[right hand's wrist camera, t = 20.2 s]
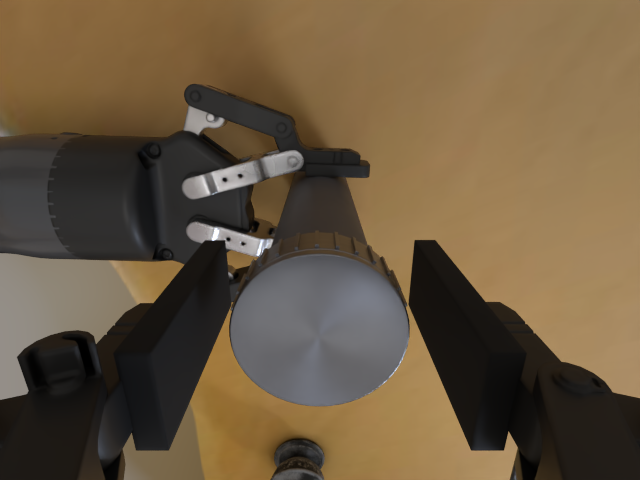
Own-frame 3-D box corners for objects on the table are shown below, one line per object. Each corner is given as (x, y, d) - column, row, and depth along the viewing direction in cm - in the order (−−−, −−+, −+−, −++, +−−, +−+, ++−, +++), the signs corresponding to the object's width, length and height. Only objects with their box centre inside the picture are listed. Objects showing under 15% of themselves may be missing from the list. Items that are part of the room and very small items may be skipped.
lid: (416, 241, 11) (432, 264, 10) (382, 378, 13) (391, 417, 11) (244, 218, 11) (231, 238, 9) (234, 362, 13) (222, 399, 11)
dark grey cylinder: (327, 146, 28) (341, 229, 10) (355, 190, 29) (411, 335, 12) (283, 175, 29) (224, 300, 11) (312, 217, 30) (300, 392, 12)
